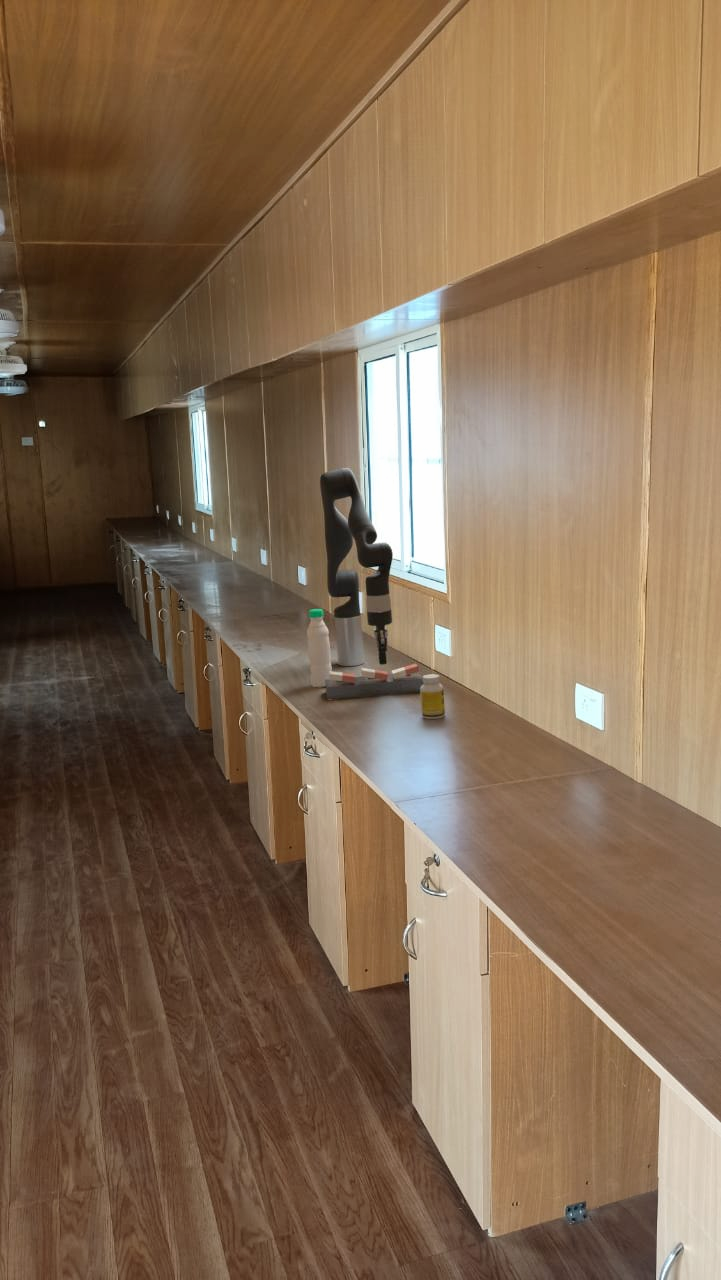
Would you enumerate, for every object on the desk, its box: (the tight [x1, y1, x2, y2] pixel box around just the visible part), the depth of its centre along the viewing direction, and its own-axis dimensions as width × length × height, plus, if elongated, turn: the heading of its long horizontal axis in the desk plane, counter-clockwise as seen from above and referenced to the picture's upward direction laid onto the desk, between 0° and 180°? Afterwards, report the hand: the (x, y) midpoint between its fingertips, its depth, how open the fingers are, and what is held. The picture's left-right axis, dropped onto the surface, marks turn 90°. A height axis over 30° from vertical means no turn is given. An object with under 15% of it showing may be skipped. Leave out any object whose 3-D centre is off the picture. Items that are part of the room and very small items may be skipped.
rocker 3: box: [391, 663, 420, 679], centre depth 305 cm, size 4×8×2 cm, turn 94°
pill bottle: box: [419, 673, 446, 720], centre depth 274 cm, size 6×6×12 cm
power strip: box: [325, 670, 424, 701], centre depth 307 cm, size 10×30×4 cm, turn 94°
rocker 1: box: [329, 670, 356, 683], centre depth 304 cm, size 4×8×2 cm, turn 94°
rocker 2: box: [360, 667, 388, 680], centre depth 304 cm, size 4×8×2 cm, turn 94°
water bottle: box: [306, 608, 333, 688], centre depth 318 cm, size 7×7×25 cm
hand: (383, 663), depth 304 cm, fingers closed
